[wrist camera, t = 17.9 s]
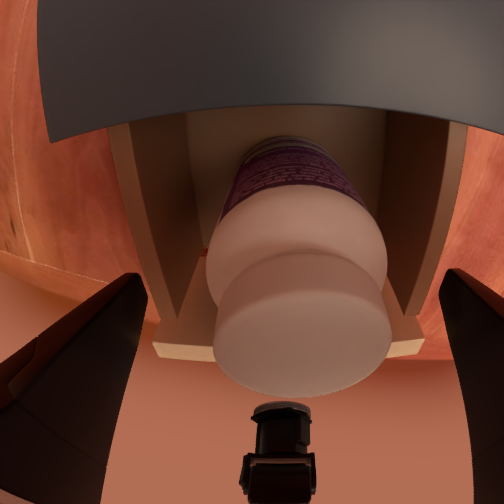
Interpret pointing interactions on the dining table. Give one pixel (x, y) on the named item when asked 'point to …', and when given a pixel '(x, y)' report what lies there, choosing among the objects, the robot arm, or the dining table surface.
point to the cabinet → (268, 58)
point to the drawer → (221, 177)
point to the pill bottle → (297, 275)
